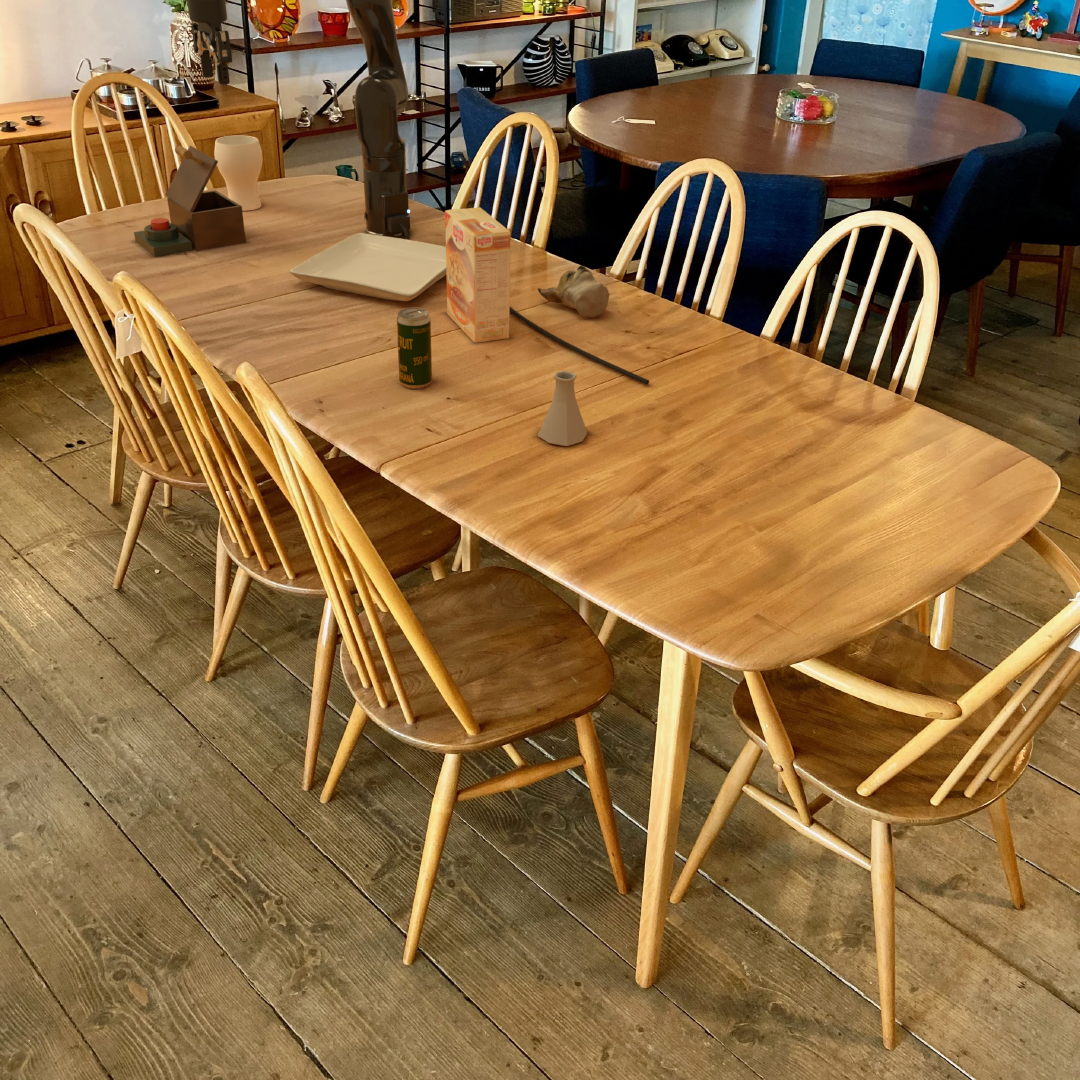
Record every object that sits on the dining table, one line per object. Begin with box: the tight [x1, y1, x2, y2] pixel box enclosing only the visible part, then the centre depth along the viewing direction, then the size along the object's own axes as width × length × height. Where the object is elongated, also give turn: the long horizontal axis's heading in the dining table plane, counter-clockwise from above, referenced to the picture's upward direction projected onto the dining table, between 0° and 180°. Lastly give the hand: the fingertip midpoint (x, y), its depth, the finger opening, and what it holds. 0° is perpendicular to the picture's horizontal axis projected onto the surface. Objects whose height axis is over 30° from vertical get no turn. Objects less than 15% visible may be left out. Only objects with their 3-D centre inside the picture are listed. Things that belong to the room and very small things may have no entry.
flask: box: [537, 370, 588, 447], centre depth 164 cm, size 7×7×10 cm
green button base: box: [133, 222, 194, 258], centre depth 233 cm, size 12×8×4 cm, turn 36°
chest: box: [166, 190, 247, 252], centre depth 237 cm, size 11×14×8 cm
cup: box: [213, 134, 264, 212], centre depth 255 cm, size 11×11×15 cm
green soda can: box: [396, 307, 433, 390], centre depth 178 cm, size 5×5×12 cm
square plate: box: [289, 232, 447, 302], centre depth 221 cm, size 27×27×4 cm
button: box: [150, 217, 170, 230], centre depth 232 cm, size 4×4×2 cm
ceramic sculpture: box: [537, 265, 610, 319], centre depth 209 cm, size 11×9×15 cm
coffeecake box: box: [444, 207, 512, 344], centre depth 197 cm, size 15×7×20 cm, turn 23°
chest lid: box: [165, 144, 218, 213], centre depth 230 cm, size 12×14×5 cm
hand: (216, 80), depth 233 cm, fingers open, 8 cm apart
